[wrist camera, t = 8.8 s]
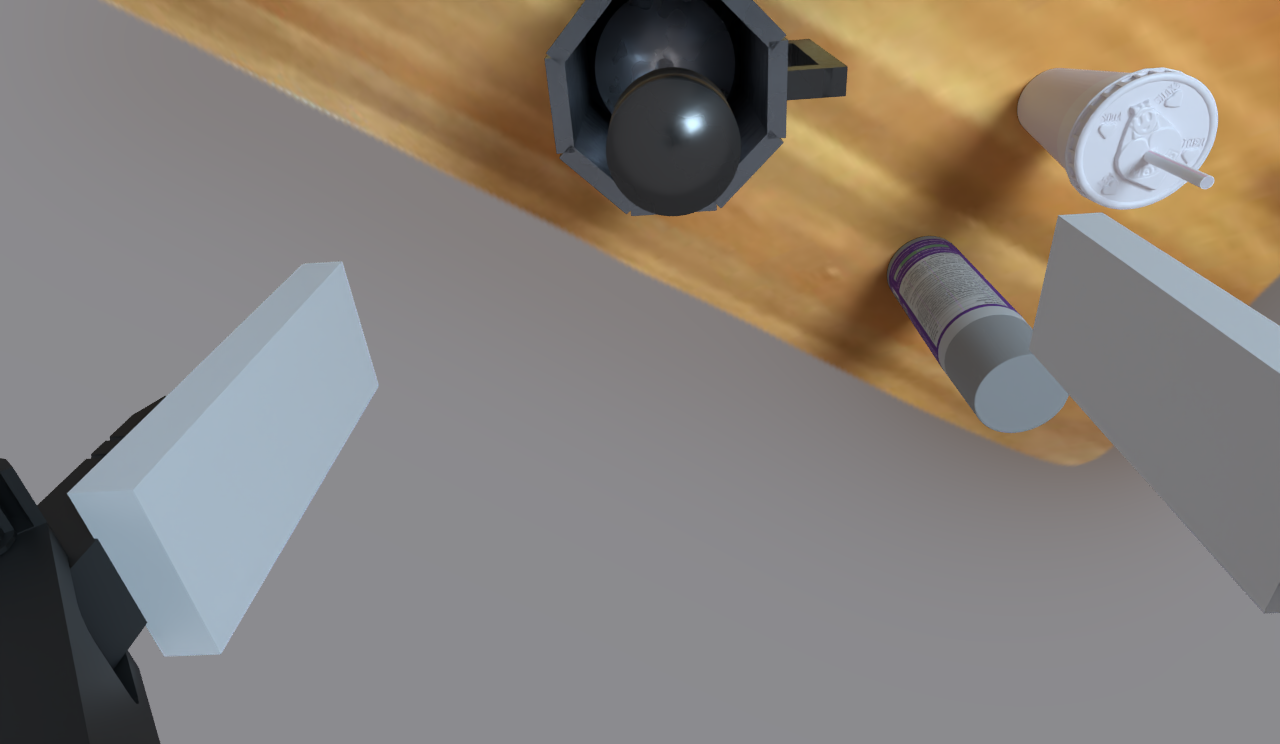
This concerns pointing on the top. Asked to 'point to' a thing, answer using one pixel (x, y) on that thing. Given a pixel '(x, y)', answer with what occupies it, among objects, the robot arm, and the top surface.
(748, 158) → the mug
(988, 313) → the container
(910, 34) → the top surface
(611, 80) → the plunger
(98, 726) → the robot arm
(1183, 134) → the smoothie
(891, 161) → the top surface
